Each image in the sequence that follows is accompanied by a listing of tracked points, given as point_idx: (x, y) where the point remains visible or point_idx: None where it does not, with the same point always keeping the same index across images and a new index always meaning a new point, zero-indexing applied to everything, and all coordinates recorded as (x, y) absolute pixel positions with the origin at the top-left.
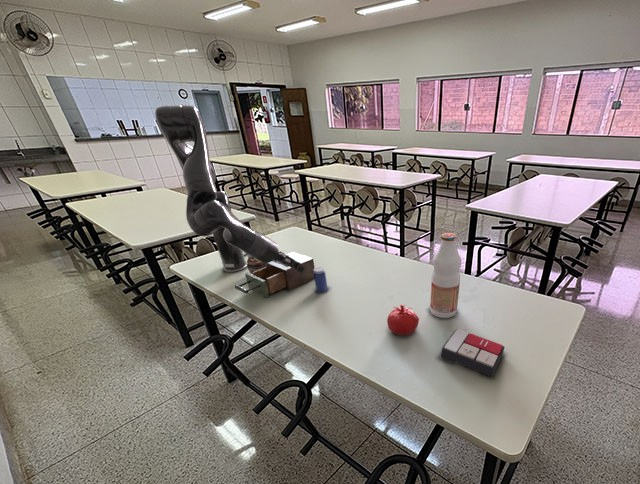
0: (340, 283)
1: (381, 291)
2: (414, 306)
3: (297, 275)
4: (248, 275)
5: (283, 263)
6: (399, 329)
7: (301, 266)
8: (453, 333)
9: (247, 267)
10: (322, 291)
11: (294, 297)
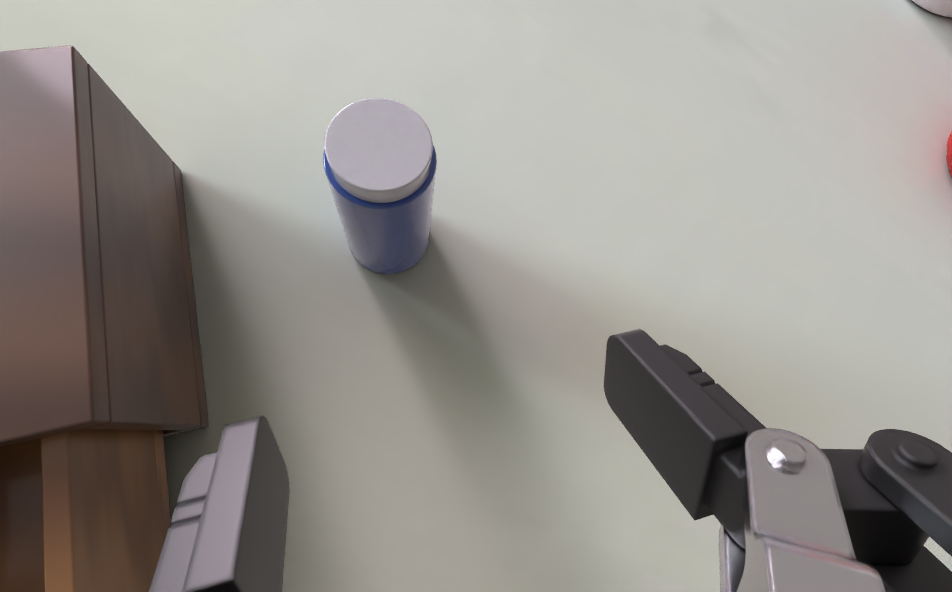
0: None
1: (641, 20)
2: (847, 18)
3: (151, 303)
4: None
5: (275, 548)
6: None
7: (722, 390)
8: None
9: None
10: (425, 250)
11: (348, 443)
